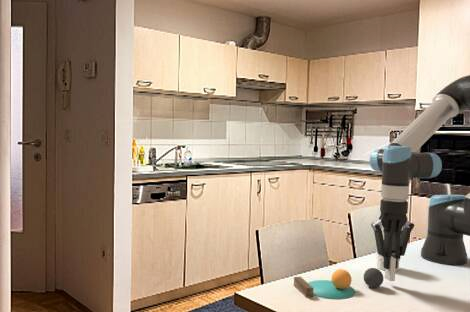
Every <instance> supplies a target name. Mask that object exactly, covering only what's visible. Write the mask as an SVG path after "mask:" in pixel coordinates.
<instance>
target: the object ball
mask: <svg viewBox="0 0 470 312" xmlns="http://www.w3.org/2000/svg"><path fill="white" fill-rule="evenodd" d="M331 281H332V283H333V285H334V286H335V287H336V288H338V289H346V288H348V287H349V286H351V284H352V276H351V274H350V272H349V271H347V270H346V269H343V268H342V269H336V270H335V271H333V273H332V275H331Z"/></svg>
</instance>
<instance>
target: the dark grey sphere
mask: <svg viewBox="0 0 470 312" xmlns="http://www.w3.org/2000/svg"><path fill="white" fill-rule="evenodd" d="M363 281H364V283H365V284H366V285H367V287H369V288H372V289H373V288H374V289H375V288H379V287H380V286H382V284H383V282H384V274H383V273H382V270H381V269H379V268H376V267H371V268H368V269H366V270H365V271H364V273H363Z"/></svg>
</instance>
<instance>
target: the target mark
mask: <svg viewBox="0 0 470 312" xmlns="http://www.w3.org/2000/svg"><path fill="white" fill-rule="evenodd" d="M307 283H308V284H310V285H311V286H312V287H313V296H315V297H319V298H324V299H330V300H343V299H349V298H351V297H352V298H353V296H355V294H356V290H355V288H354V287H352V286H351V285H350V286H349V287H348V288H346V289H338V288H336V287H335V286H334V285H333V283H332V280H326V279H319V280H312V281H308V282H307Z"/></svg>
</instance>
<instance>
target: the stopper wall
mask: <svg viewBox="0 0 470 312" xmlns="http://www.w3.org/2000/svg"><path fill="white" fill-rule="evenodd" d="M293 287H295V288H296V289H297V290H298V291H299V292H300V293H301V294H302V295H303V296H304V297H305V298H313V297H314V295H313V287H312V286H311V285H310V284H308V282H307V280H305V279H304V278H303V277H302V276H294V277H293Z"/></svg>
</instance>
